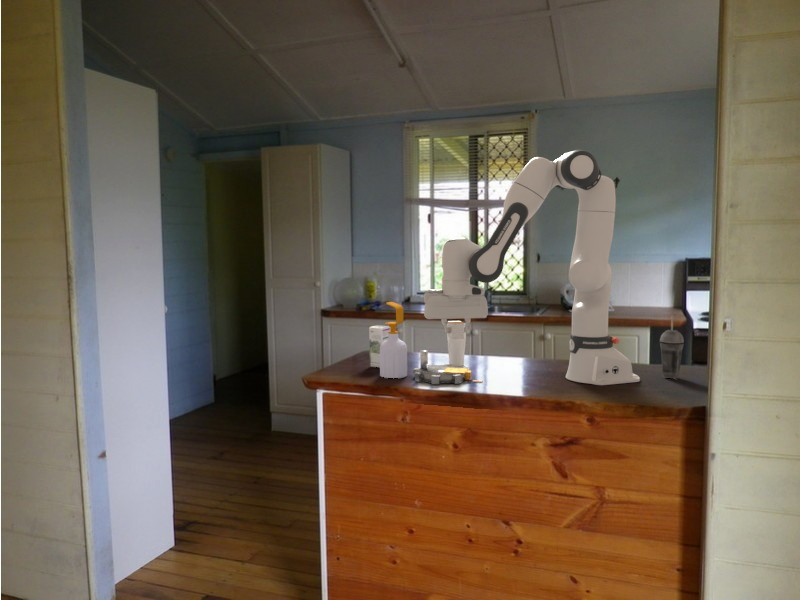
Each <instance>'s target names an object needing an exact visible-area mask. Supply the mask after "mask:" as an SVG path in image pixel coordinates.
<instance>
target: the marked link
mask: <svg viewBox="0 0 800 600" xmlns="http://www.w3.org/2000/svg"><path fill="white" fill-rule="evenodd" d="M447 324H448V327H450V333H448V337H449V338H450V339H464V322H463V321H461V320H447Z"/></svg>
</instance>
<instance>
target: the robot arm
mask: <svg viewBox="0 0 800 600" xmlns="http://www.w3.org/2000/svg"><path fill="white" fill-rule="evenodd" d="M555 187H556V188H560V189H563V190H570V189H572V190H573V189H574V190H575V192H577V197H578V206H577V207H578V208H577V217H576V228H575V229H576V230H575V237H574V243H573V246H572V247H573V248H572V253H571V258H570V265H569V270H568V280H569V281H568V282H569V283H570V285H571V286H572V287H573V288H574V289H575V290H574V297H573V303H572V309H571V333H570V335H569V352H570V355H569V362H568V368H567V372H566V374H565V378H566V380H568V381H572V382H575V383H583V384H591V385H595V386H609V385H617V384H627V383H628V384H629V383H639V382H640V381H641V380H640V379H641V377H640V376H639V375H638V374H635V373H634V372H633V367H632V362H631V361H630V359H629V357H626V355H624V354H623V353H622V352H620V351H619V350H618V349H616V348H615V347H614V344H615V345H618V344H620V339H619V337H615V336H613V337H612V336H610V335H609V312H610V311H609V308H610V302H611V301H610V300H611V292H612V276H613V275H612V272H613V271H612V267H611V265H610V263H609V258H610V253H611V247H612V241H613V238H614V237H613V236H614V228H615V219H616V218H615V217H616V203H617V202H616V201H617V199H616V188H615V187H616V186H615V182H614V181H613V179H612V178H610V177H608V176H606V175H602V171H601V169H600V167H599V166H598V162H597V160H596V157H595V156H594V155H593V153H591V152H589V151H587V150H584V149H574V150H572V151H571V150H570V151H569V152H565V153H563V155H561V156H560V157H557V158H556V159H555V160H553V161H552V160H549V159H548V158H545V157H542V156H541V157H540V156H536V157H533V158H531V159H530V160H529V162H527V164H525V166H524V167H523V168H522V169H521V170H520V171H519V174H518V175H517V176H516V178H515V180H514V181H513V182H512V184H511V185H510V188H509V189H508V191H507V194H506V196H505V199H504V202H503V209H502V211H503V212H502V216H501V218H500V221H499V223H498V224H497V226H496V228H495V229H494V231H493V233H492V235H490V238H489V239H488V241H487V243H486V244H485V245H484V246H482V245H479V244H476V243H475V242H473V241H472V240H470V239H468V237H457V238H453V239H448V241H446V242H445V243H444V245H443V247H442V255H441V268H442V270H443V271H442V279H441V289H428V290H427V291H425V292H424V293H423V302H424V308H423V311H424V312H423V316H424V317H425V318H426V319H427V320H441V321H440V322H441V324H442V325H443V327H444V333H445V334H447V333H450V327H447V324H446V323H448V319H449V320H453V319H455V320H456V319H457V320H458V319H460V320H461V319H464V322H465V325H464V332H466V333H467V332H468V327H469V325H470V323H471V322H472V321H471V319H486V318H487V316H489V310H488V309H489V307H488V306H489V305H488V300H487V298H486V296H485V292H486V291H485V289H484V288H483V287H480V286H477V285H475V284H471V277H473V279H474V280H476V281H478V282H479V283H491V282H493V281H495V280H497V279H498V278H499V277H500V276H501V275H502V272H503V270H504V264H505V257H506V254H507V252H508V250H509V248H510V247H511V245H512V244H513V242H514V240H515V238H516V237H517V235H518V234H519V232H520V230H522V228H523V227H524V226H525V225H526V223H528V221H529V220H530V219H531V218H533V216H534V215H535V214H536V213H537V212H538V210H539V209H540V207H541V206H542V204H543V203H544V202H545V200H546V198H547V196H548V195H549V193H550V192H551V190H552V189H554V188H555Z"/></svg>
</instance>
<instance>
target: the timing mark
mask: <svg viewBox="0 0 800 600" xmlns="http://www.w3.org/2000/svg"><path fill="white" fill-rule="evenodd" d="M471 382H473V383H480V382H482V383H483V380H478V379H477V380H476V379H473V380H472V381H471Z"/></svg>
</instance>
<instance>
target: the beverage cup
mask: <svg viewBox="0 0 800 600" xmlns="http://www.w3.org/2000/svg"><path fill="white" fill-rule="evenodd" d="M670 321H671V322H670V329H667V330H665V331H664V332H663V333H661V335H660V338H659V345H660V353H661V355H660V356H661V368H662V369H661V371H662V372H661V373H662V378H663V377H665V378H678V379H679V375H680V371H681V362H682V361H681V360H682V354H683V349H684V344H685V340H684V339H685V338H684V336H683V334H682V333H681V332H680V331H678V330H677V329H674V315H672V314H671V318H670ZM665 378H664V379H665Z"/></svg>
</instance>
